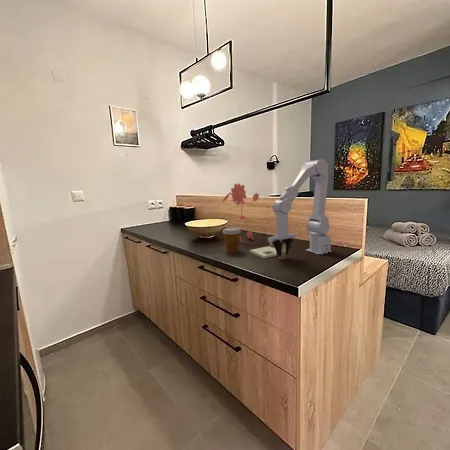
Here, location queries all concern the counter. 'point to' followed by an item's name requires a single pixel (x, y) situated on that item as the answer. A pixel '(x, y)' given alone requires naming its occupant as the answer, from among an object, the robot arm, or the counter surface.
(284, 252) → the loose leg
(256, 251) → the stool seat
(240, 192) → the figurine
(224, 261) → the counter surface
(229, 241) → the disposable coffee cup
